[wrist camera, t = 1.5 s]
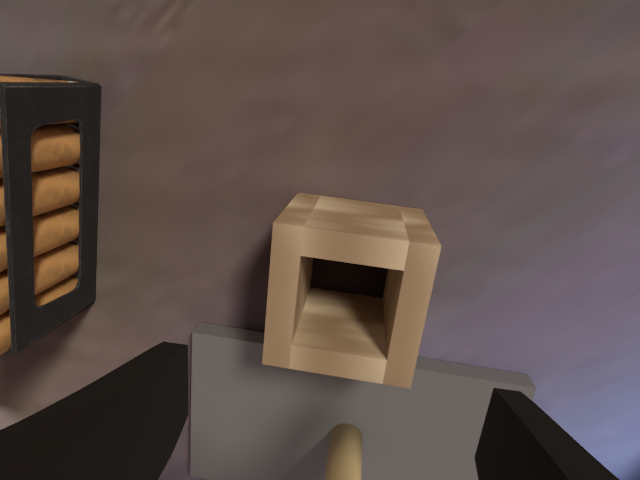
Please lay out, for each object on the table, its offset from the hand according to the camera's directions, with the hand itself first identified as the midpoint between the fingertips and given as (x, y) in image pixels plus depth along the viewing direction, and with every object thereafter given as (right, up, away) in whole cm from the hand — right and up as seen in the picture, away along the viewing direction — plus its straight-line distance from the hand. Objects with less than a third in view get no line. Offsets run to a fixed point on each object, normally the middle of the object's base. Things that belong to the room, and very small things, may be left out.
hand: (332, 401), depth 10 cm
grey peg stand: (+1, -6, +12) cm, 13 cm away
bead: (+1, +3, +9) cm, 10 cm away
